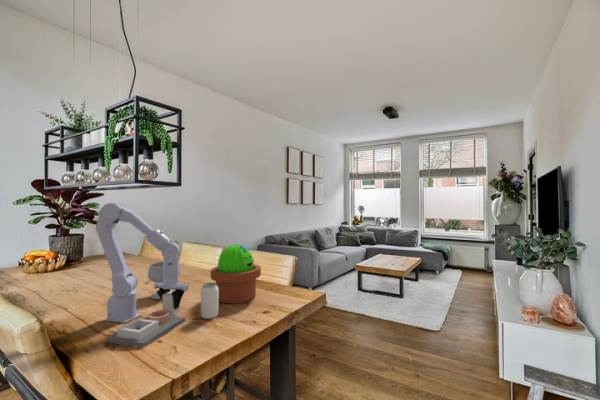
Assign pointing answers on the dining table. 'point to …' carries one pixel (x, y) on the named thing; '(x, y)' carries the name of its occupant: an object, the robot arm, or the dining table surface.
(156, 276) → the chalice
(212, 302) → the can
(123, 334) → the socket board
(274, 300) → the dining table surface
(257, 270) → the potted cactus
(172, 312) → the square peg
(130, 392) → the dining table surface
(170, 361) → the dining table surface
